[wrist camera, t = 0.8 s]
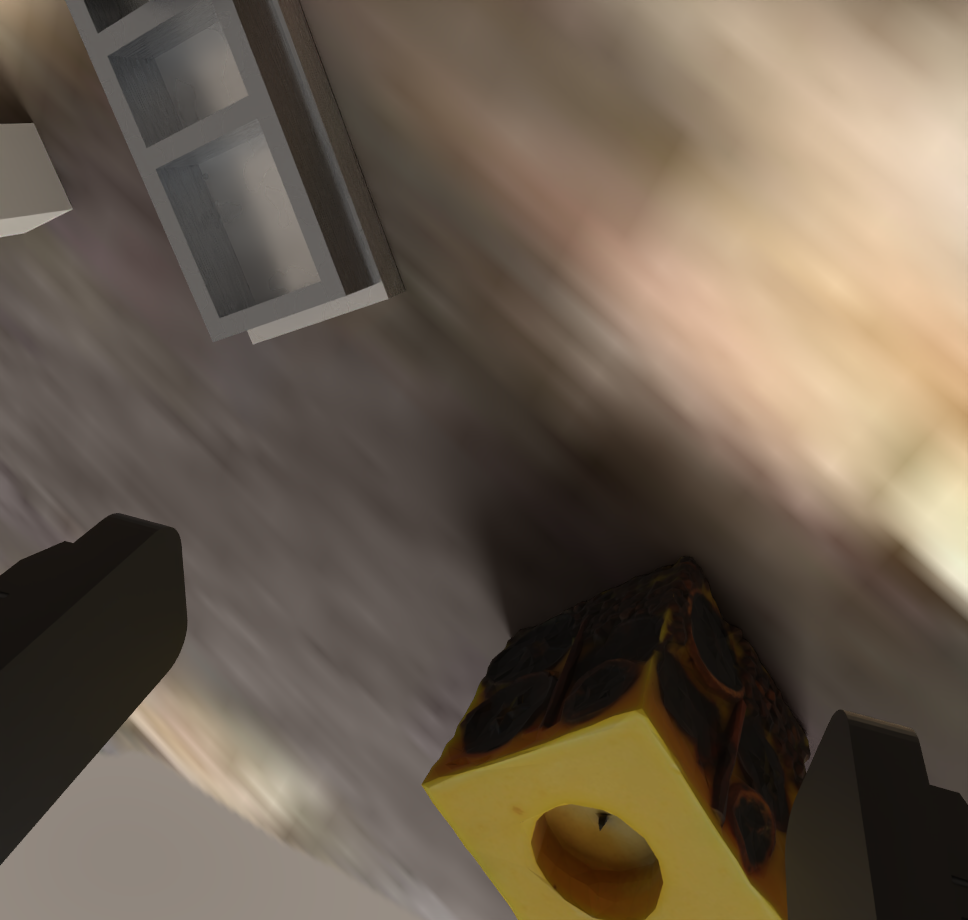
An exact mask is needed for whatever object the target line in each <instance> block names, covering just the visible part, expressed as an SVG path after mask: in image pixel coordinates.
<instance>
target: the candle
mask: <svg viewBox="0 0 968 920" xmlns="http://www.w3.org/2000/svg"><path fill="white" fill-rule="evenodd" d="M742 636H743V634H742V630H741V629H739V628H737V627H735V626H732V625H729V624H728V623H727V622H726V621H725V620H724V619H723V618H722V617H721V614H720V612H719V609H718V607H717V605H716V602H715V600H714V599H713V597H712V595H711V591H710V587H709V583H708V581H707V580H706V578H705V577H704V576H703V573H702V570H701V568H700V567H699V566H698V565H697V564H696V563H695V561H694V560H693V558H690V557H681V558H680V559H679V561H678V562H677V563H676V564H675V565H669V566H666V567H662V568H658V569H657V570H655V571H654V572H653V573H651V574H649V575H645V576H639V577H635V578H633V579H631V580H630V581H628V582H627V583H625V584H624V585H621V586H619V587H616V588H613V589H610V590H608V591H605V592H602V593H601V594H599V595H597V596H596V597H594V598H592V599H591V600H589V601H588V602H581V603H579V604H577V605H576V606H575V607H574V608H571V609H567V610H564V612H563V614H561V615H558V616H556V617H554V618H552V619H550V620H548V621H547V622H545V623H543V624H541V625H539V626H537V627H534V628H527V629H521V630H520V631H519V632H518V633H517V634H516V635H515V636H514V637H512V638H511V639H510V640H508V642H507V645H506V647H505V649H504V650H503V651H502V652H501V653H499V654H498V655H497V656H496V657H495V658H494V659H492V661H491V663H490V665H489V667H488V670H487V674H486V676H485V677H484V678H483V679H482V681H481V682H480V684H479V686H478V689H477V692H476V695H475V697H474V699H473V701H472V703H471V705H470V706H469V708H468V710H467V712H466V714H465V715H464V717H463V718H462V720H461V721H460V723H459V725H458V726H457V729H456V732H455V735H454V737H453V738H452V739H451V740H450V741H449V742H448V743H447V744H446V746H445V748H444V751H443V753H442V755H441V757H440V759H439V760H438V761H437V762H436V763H435V764H434V765H433V767H432V768H431V770H430V772H429V773H428V775H427V776H426V778H425V780H424V781H423V783H422V786H423V788H424V789H425V791H426V793H427V794H428V796H429V797H430V799H431V800H432V802H433V804H434V805H435V806H436V808H437V809H438V810H439V812H440V813H441V814H442V815H443V817H444V818H445V819H446V821H447V822H448V823H449V824H450V826H451V827H452V828H453V830H454V831H455V833H456V834H457V836H458V837H459V838H460V840H461V841H462V843H463V844H464V846H465V847H466V848H467V850H468V851H469V852H470V853H471V854H472V856H473V857H474V858H475V860H476V861H477V862H478V864H479V865H480V866H481V868H482V869H483V871H484V872H485V873H486V875H487V876H488V877H489V879H490V880H491V881H492V883H493V884H494V886H495V887H496V888H497V890H498V891H499V892H500V894H501V895H502V896H503V898H504V899H505V900H506V902H507V903H508V905H509V906H510V907H511V909H512V911H513V912H514V914H515V916H516V917H517V919H518V920H788V912H787V890H786V869H785V844H786V834H787V828H788V822H789V817H790V813H791V809H792V806H793V803H794V800H795V798H796V795H797V793H798V791H799V789H800V787H801V784H802V782H803V780H804V778H805V775H806V769H805V765H804V763H805V762H806V761H807V760H808V759H809V758H810V749H809V743H808V739H807V737H806V735H805V733H804V732H803V730H802V729H801V727H800V726H799V724H798V722H797V721H796V719H795V718H794V716H793V715H792V713H791V712H790V710H789V708H788V707H787V705H786V704H785V703H784V701H783V699H782V696H781V692H780V690H778V689H777V688H776V686H775V684H774V682H773V680H772V678H771V677H770V675H769V674H768V672H767V671H766V670H765V668H764V667H763V666H762V665H761V663H760V661H759V659H758V656H757V654H756V653H755V651H754V649H753V648H752V646H751V645H750V644H749V642H748V641H746V640H745V639H743V638H742Z"/></svg>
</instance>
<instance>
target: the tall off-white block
mask: <svg viewBox="0 0 968 920" xmlns="http://www.w3.org/2000/svg"><path fill="white" fill-rule="evenodd" d="M72 209H73V208H72V206H71V204H70V202H69V199H68V197H67V195H66V193H65V191H64V188H63V186H62V184H61V182H60V180H59V177H58V175H57V173H56V171H55V169H54V166H53V164H52V162H51V160H50V158H49V156H48V153H47V151H46V149H45V147H44V145H43V142H42V140H41V138H40V136H39V134H38V131H37V129H36V127H35V125H34V123H19V124H0V237H4V236H10V235H17V234H23V233H26V232H28V231H30V230H32V229H34V228H36V227H38V226H40V225H42V224H44V223H46V222H48V221H50V220H52V219H54V218H56V217H58V216H60V215H62V214H64V213H66V212H68V211H70V210H72Z"/></svg>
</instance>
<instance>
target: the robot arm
mask: <svg viewBox="0 0 968 920" xmlns="http://www.w3.org/2000/svg"><path fill="white" fill-rule="evenodd" d="M186 631H187V609H186V596H185V584H184V571H183V558H182V546H181V539H180V536H179V534H178V532H177V531H176V530H175V529H174V528H172V527H169V526H165V525H162V524H158V523H154V522H150V521H147V520H143V519H139V518H136V517H132V516H128V515H124V514H120V513H116V514H112V515H109V516H107V517H106V518H104V519H103V520H102V521H100V522H99V523H98V524H97V525H95V526H94V527H93V528H92V529H90V530H89V531H88V532H87V533H85V534H84V535H83V536H82V537H80V538H79V539H78V540H77V541H75V542H74V543H70V542H67V541H64V542H62V543H59V544H57V545H55V546H52V547H50V548H48V549H45V550H43V551H41V552H38V553H36V554H34V555H31V556H29V557H27V558H24V559H22V560H20V561H19V562H17V563H16V564H15V565H13V566H12V567H11V568H10V569H8V570H7V571H6V572H4V573H3V574H2V575H0V865H1V864H2V863H3V862H4V860H5V859H6V858H7V857H8V856H9V854H10V853H11V852H12V851H13V850H14V849H15V848H16V847H17V845H18V844H19V843H20V842H21V841H22V840H23V838H24V837H25V836H26V835H27V834H28V833H29V831H30V830H31V829H32V828H33V827H34V826H35V824H36V823H37V822H38V821H39V820H40V819H41V818H42V817H43V815H44V814H45V813H46V812H47V811H48V810H49V808H50V807H51V806H52V805H53V804H54V803H55V802H56V800H57V799H58V798H59V797H60V796H61V794H62V793H63V792H64V791H65V790H66V789H67V788H68V787H69V785H70V784H71V783H72V782H73V780H75V778H76V777H77V776H78V775H79V774H80V773H81V772H82V770H83V769H84V768H85V767H86V766H87V764H88V763H89V762H90V761H91V760H92V759H93V758H94V757H95V755H96V754H97V753H98V752H99V751H100V750H101V749H102V747H103V746H104V745H105V744H106V743H107V742H108V740H109V739H110V738H111V737H112V736H113V735H114V734H115V732H116V731H117V730H118V729H119V728H120V727H121V725H122V724H123V723H124V722H125V721H126V720H127V719H128V717H129V716H130V715H131V714H132V713H133V712H134V710H135V709H136V708H137V707H138V706H139V705H140V704H141V702H142V701H143V700H144V699H145V698H146V697H147V695H148V694H149V693H150V692H151V691H152V690H153V689H154V687H155V686H156V685H157V684H158V683H159V682H160V680H161V679H162V678H163V677H164V676H165V675H166V674H167V672H168V671H169V670H170V669H171V667H172V666H173V664H174V663H175V661H176V659H177V658H178V656H179V653H180V651H181V649H182V646H183V643H184V640H185V636H186ZM785 869H786V890H787V912H788V920H968V805H967V803H966V802H965V800H964V799H963V798H962V796H961V795H960V793H957V792H954V791H950V790H946V789H943V788H939V787H936V786H932V785H929V780H928V776H927V772H926V768H925V764H924V759H923V755H922V751H921V747H920V743H919V739H918V737H917V735H916V733H915V732H914V730H913V729H911V728H908V727H904V726H900V725H897V724H893V723H889V722H886V721H882V720H878V719H874V718H871V717H867V716H863V715H860V714H856V713H852V712H848V711H845V710H838V711H836V712H835V714H834V715H833V716H832V718H831V720H830V722H829V724H828V726H827V728H826V731H825V733H824V735H823V737H822V740H821V742H820V744H819V746H818V748H817V751H816V753H815V755H814V757H813V760H812V762H811V764H810V766H809V769H808V771H807V773H806V775H805V778H804V780H803V782H802V784H801V787H800V789H799V791H798V793H797V795H796V798H795V800H794V803H793V806H792V809H791V813H790V817H789V822H788V828H787V834H786V844H785Z"/></svg>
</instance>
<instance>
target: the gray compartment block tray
mask: <svg viewBox="0 0 968 920" xmlns="http://www.w3.org/2000/svg"><path fill="white" fill-rule="evenodd" d="M65 1H66V3H67V6H68V8H69V10H70V13H71V15H72V17H73V20H74V22H75V24H76V26H77V29H78V31H79V33H80V36H81V38H82V40H83V43H84V45H85V47H86V50H87V52H88V54H89V57H90V59H91V61H92V63H93V66H94V68H95V70H96V73H97V75H98V77H99V80H100V82H101V84H102V87H103V89H104V91H105V94H106V96H107V98H108V101H109V103H110V105H111V107H112V110H113V112H114V114H115V117H116V119H117V121H118V124H119V126H120V128H121V131H122V133H123V135H124V138H125V140H126V142H127V144H128V147H129V149H130V151H131V154H132V156H133V158H134V161H135V163H136V165H137V168H138V170H139V172H140V175H141V177H142V179H143V181H144V184H145V186H146V188H147V191H148V193H149V195H150V198H151V200H152V202H153V205H154V207H155V209H156V212H157V214H158V216H159V218H160V221H161V223H162V225H163V228H164V230H165V232H166V235H167V237H168V239H169V242H170V244H171V246H172V249H173V251H174V253H175V255H176V258H177V260H178V262H179V265H180V267H181V269H182V272H183V274H184V276H185V279H186V281H187V283H188V286H189V288H190V290H191V293H192V295H193V297H194V299H195V302H196V304H197V306H198V309H199V311H200V313H201V316H202V318H203V320H204V323H205V325H206V327H207V330H208V332H209V334H210V336H211V339H212V341H213V342H215V341H218V340H221V339H224V338H227V337H230V336H233V335H235V334H238V333H241V332H244V331H247V332H248V334H249V336H250V339H251V341H252V343H253V344H256V343H259V342H262V341H265V340H268V339H271V338H274V337H277V336H280V335H283V334H285V333H288V332H291V331H294V330H297V329H300V328H303V327H306V326H309V325H312V324H315V323H318V322H321V321H324V320H327V319H330V318H333V317H336V316H339V315H342V314H345V313H348V312H351V311H354V310H357V309H360V308H363V307H365V306H368V305H371V304H374V303H377V302H380V301H383V300H386V299H389V298H391V297H394V296H396V295H398V294H400V293H403V292H405V289H404V287H403V284H402V281H401V278H400V276H399V273H398V270H397V267H396V265H395V262H394V259H393V257H392V254H391V251H390V248H389V246H388V243H387V240H386V237H385V235H384V232H383V229H382V227H381V224H380V221H379V218H378V216H377V213H376V210H375V207H374V205H373V202H372V199H371V197H370V194H369V191H368V188H367V186H366V183H365V180H364V177H363V175H362V172H361V169H360V166H359V164H358V161H357V158H356V156H355V153H354V150H353V147H352V145H351V142H350V139H349V136H348V134H347V131H346V128H345V126H344V123H343V120H342V117H341V115H340V112H339V109H338V106H337V104H336V101H335V98H334V96H333V93H332V90H331V87H330V85H329V82H328V79H327V76H326V74H325V71H324V68H323V66H322V63H321V60H320V57H319V55H318V52H317V49H316V46H315V44H314V41H313V38H312V36H311V33H310V30H309V27H308V25H307V22H306V19H305V16H304V14H303V11H302V8H301V6H300V3H299V0H65Z"/></svg>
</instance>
